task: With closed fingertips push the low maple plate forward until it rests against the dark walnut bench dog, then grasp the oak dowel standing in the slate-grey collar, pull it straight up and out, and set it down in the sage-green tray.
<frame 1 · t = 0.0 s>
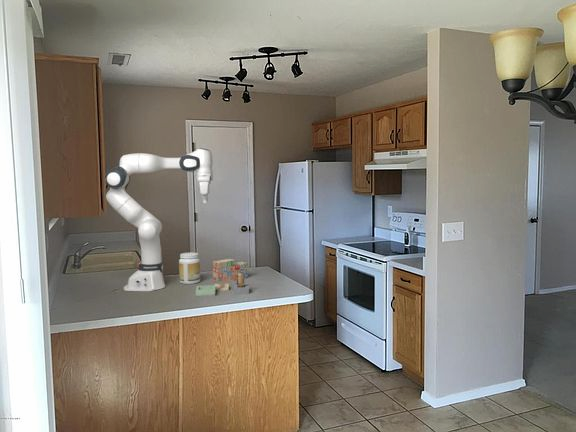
hand: (205, 202, 276), 48 cm above the counter, fingers open, 8 cm apart
stack of blocks: (230, 279, 296), on the counter
collar: (241, 291, 267), on the counter
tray: (206, 293, 264), on the counter
bench dog: (239, 288, 275), on the counter
supplement tub: (189, 282, 289), on the counter
dowel: (241, 282, 266), in the collar
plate: (221, 289, 274), on the counter
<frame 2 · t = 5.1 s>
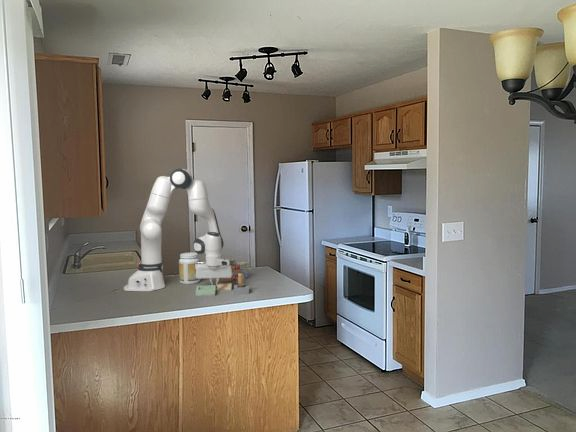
hand: (214, 285, 273), 2 cm above the counter, fingers closed
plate: (224, 288, 274), on the counter, touching gripper
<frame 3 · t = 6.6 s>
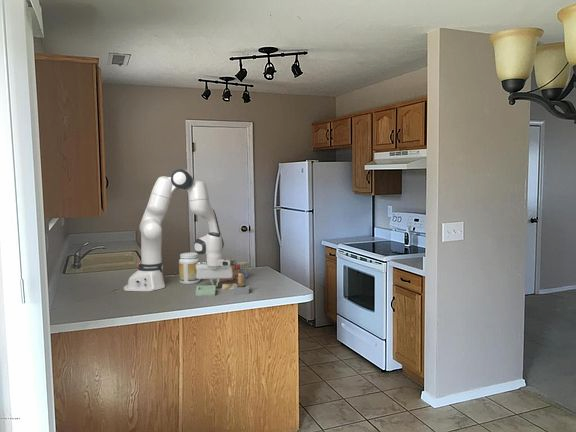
hand: (214, 286, 273), 1 cm above the counter, fingers closed
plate: (229, 289, 274), on the counter
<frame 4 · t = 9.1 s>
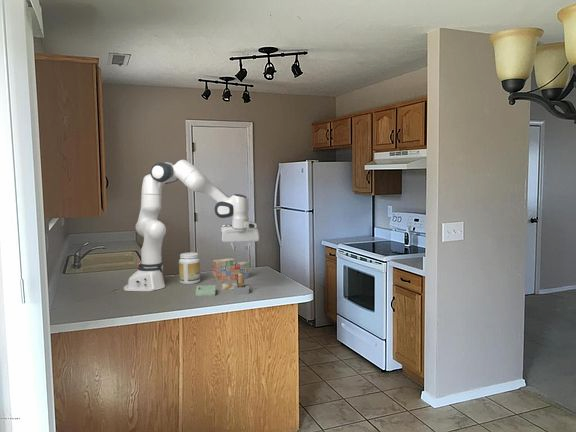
hand: (240, 249, 264), 23 cm above the counter, fingers open, 6 cm apart
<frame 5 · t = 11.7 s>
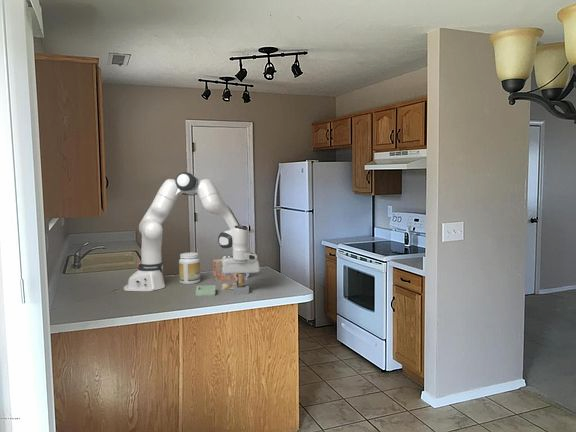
hand: (241, 280, 266), 6 cm above the counter, fingers closed on dowel, 3 cm apart
dowel: (241, 282, 266), in the collar, touching gripper
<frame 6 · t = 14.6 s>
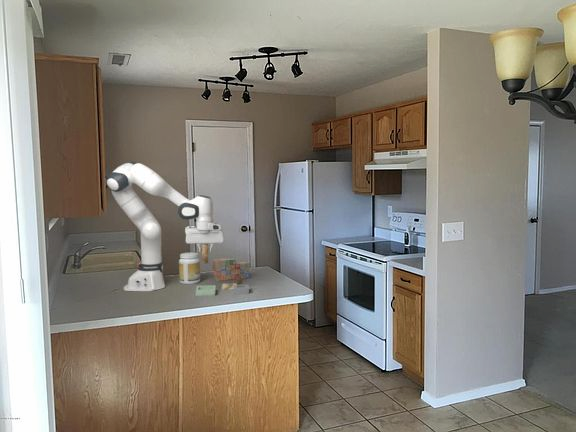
hand: (205, 251, 262), 23 cm above the counter, fingers closed on dowel, 3 cm apart
dowel: (205, 253, 262), point 22 cm above the counter, touching gripper
when the fingers open (8 cm above the counter, at t = 17.7 s): dowel drops 1 cm, resting on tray.
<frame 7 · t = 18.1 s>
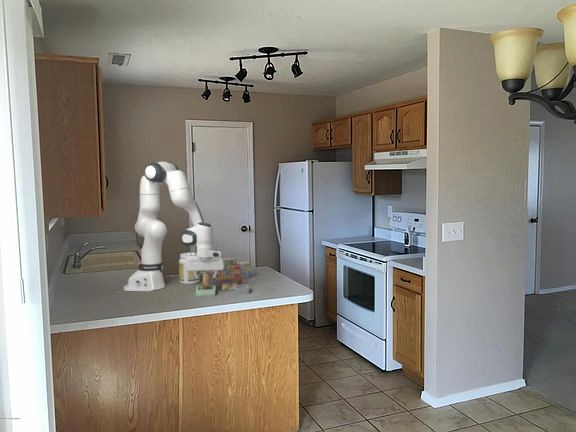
hand: (205, 278, 263), 8 cm above the counter, fingers open, 7 cm apart
dowel: (205, 282, 264), in the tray, point 6 cm above the counter
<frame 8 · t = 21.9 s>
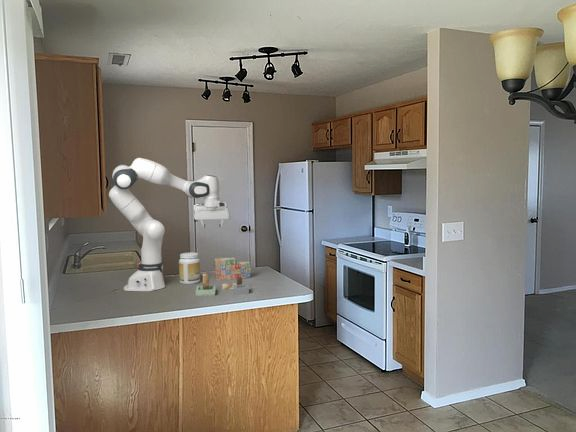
hand: (212, 227, 281), 33 cm above the counter, fingers open, 8 cm apart
at the end: dowel inside the target area on the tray (0.1 cm from its centre), point 5.6 cm above the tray's base; the gripper is holding nothing; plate 0.5 cm from the target spot, on the counter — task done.
